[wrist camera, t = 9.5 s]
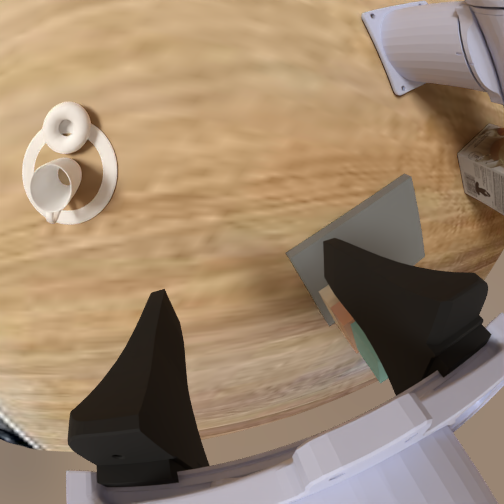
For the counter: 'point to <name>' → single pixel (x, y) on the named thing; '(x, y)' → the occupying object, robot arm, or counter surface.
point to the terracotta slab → (345, 323)
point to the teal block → (368, 352)
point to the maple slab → (329, 301)
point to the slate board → (365, 235)
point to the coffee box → (485, 167)
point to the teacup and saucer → (67, 165)
